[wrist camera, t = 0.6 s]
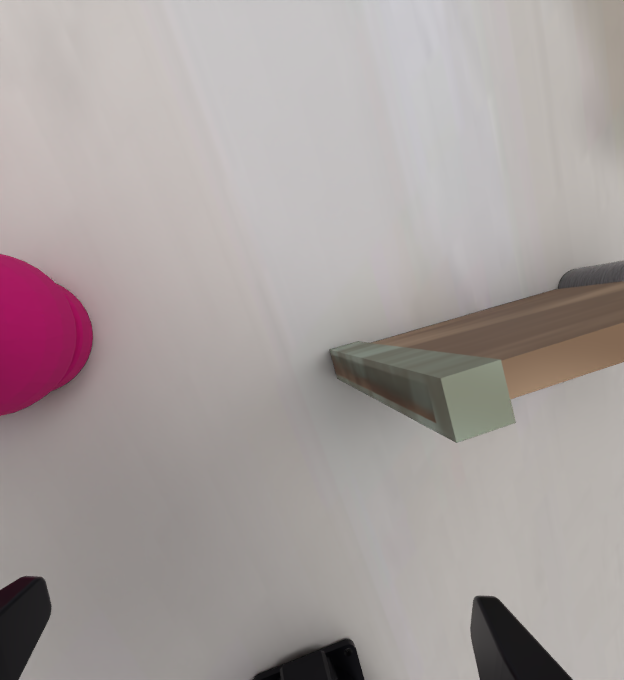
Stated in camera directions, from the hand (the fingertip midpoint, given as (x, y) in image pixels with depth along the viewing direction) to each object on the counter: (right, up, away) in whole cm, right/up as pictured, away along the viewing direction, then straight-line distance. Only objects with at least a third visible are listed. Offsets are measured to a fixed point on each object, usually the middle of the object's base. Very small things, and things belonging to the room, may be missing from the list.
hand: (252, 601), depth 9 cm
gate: (+10, +6, +17) cm, 21 cm away
